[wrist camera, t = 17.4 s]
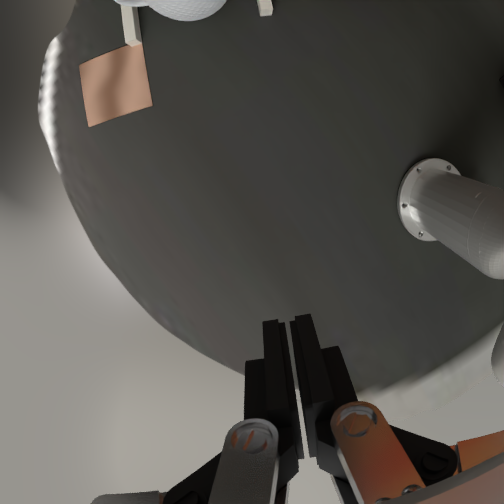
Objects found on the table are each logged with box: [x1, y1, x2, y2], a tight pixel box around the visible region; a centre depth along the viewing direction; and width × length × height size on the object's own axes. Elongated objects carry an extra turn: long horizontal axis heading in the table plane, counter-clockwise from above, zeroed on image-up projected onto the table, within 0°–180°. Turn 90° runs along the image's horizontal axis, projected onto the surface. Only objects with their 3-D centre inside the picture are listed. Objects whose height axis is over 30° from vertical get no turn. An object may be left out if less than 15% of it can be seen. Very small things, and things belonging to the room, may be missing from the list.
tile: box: [79, 44, 153, 127], centre depth 35 cm, size 10×10×1 cm
